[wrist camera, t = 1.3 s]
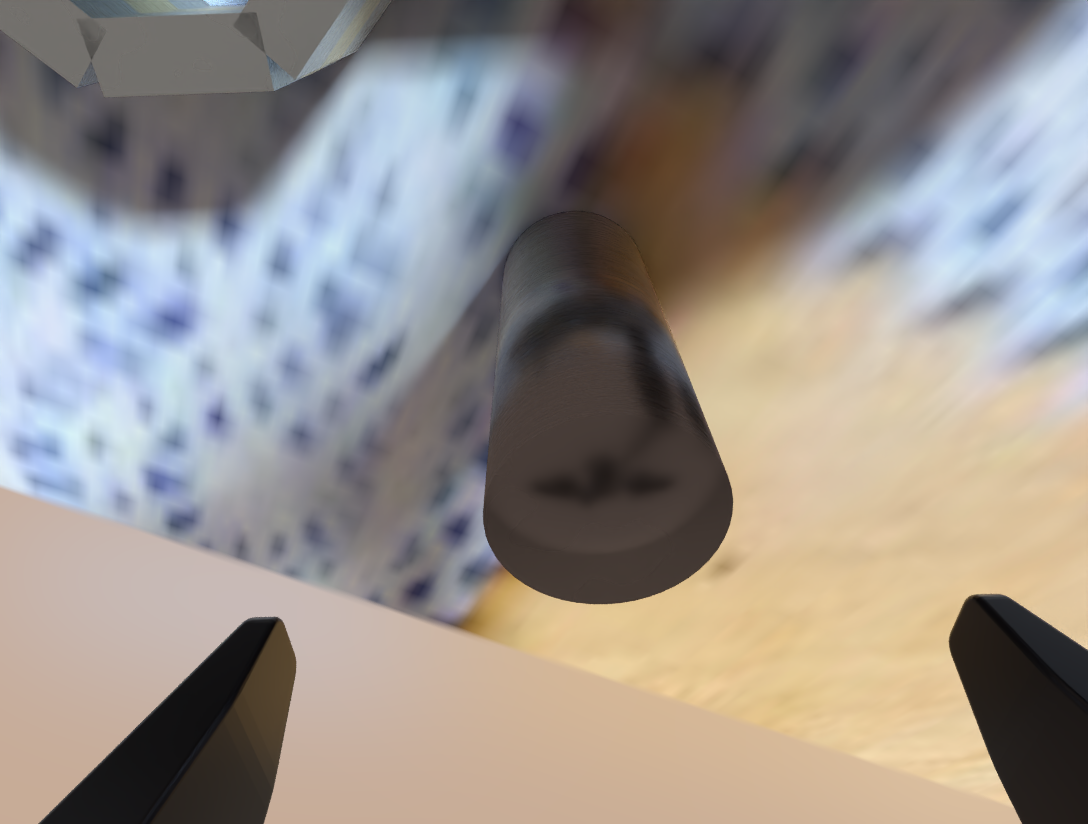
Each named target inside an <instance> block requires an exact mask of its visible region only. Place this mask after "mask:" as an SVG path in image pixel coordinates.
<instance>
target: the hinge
mask: <svg viewBox="0 0 1088 824" xmlns="http://www.w3.org/2000/svg"><path fill="white" fill-rule="evenodd" d="M391 1H392V0H248V2H247V4H246V5H222V6H210V5H208V4H207V3H206V2H205V1H204V0H0V30H1V31H2V32H4V33H5V34H6V35H8V36H9V37H10V38H12V39H13V40H14V41H16V42H17V43H18V44H20V45H21V46H22V47H24V48H25V49H26V50H27V51H29V52H30V53H31V54H33V55H34V56H35V57H37V58H38V59H39V60H41V61H42V62H43V63H45V64H46V65H47V66H49V67H50V68H51V69H53V70H54V71H55V72H57V73H58V74H59V75H61V76H62V77H63V78H65V79H66V80H67V81H69V82H70V83H71V84H72V85H74V86H75V87H76V88H79V87H83V86H87V85H90V84H94V83H98V82H99V84H100V87H101V90H102V93H103V96H104V98H107V97H133V96H160V95H186V94H213V93H239V92H266V91H276V90H278V89H280V88H282V87H284V86H286V85H289V84H291V83H293V82H295V81H297V80H299V79H301V78H304V77H306V76H308V75H310V74H312V73H314V72H316V71H318V70H321V69H323V68H325V67H327V66H329V65H331V64H333V63H336V62H338V61H340V59H341V58H344V57H346V56H348V55H350V54H352V53H354V52H356V51H357V50H358V48H359V47H360V46H361V44H362V43H363V41H364V40H365V38H366V37H367V36H368V34H369V33H370V31H371V30H372V29H373V27H374V26H375V24H376V23H377V21H378V20H379V19H380V17H381V16H382V14H383V13H384V11H385V10H386V9H387V7H388V6H389V4H390V3H391Z"/></svg>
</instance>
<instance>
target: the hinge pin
mask: <svg viewBox="0 0 1088 824" xmlns="http://www.w3.org/2000/svg"><path fill="white" fill-rule="evenodd" d="M732 510H733V496H732V488H731V485H730V482H729V478H728V475H727V473H726V470H725V468H724V465H723V463H722V460H721V458H720V455H719V452H718V450H717V447H716V445H715V442H714V440H713V437H712V435H711V432H710V430H709V427H708V425H707V422H706V420H705V417H704V415H703V412H702V409H701V407H700V404H699V402H698V399H697V397H696V394H695V392H694V389H693V387H692V384H691V382H690V379H689V377H688V374H687V371H686V369H685V366H684V364H683V361H682V359H681V356H680V354H679V351H678V349H677V346H676V344H675V341H674V339H673V336H672V333H671V331H670V328H669V326H668V323H667V321H666V318H665V316H664V313H663V311H662V308H661V306H660V303H659V301H658V298H657V295H656V293H655V290H654V288H653V285H652V283H651V280H650V278H649V275H648V273H647V270H646V268H645V265H644V263H643V260H642V258H641V255H640V253H639V250H638V248H637V246H636V244H635V243H634V241H633V240H632V238H631V237H630V236H629V235H628V234H627V232H626V231H625V230H624V229H622V228H621V227H620V226H619V225H618V224H616V223H614V222H613V221H611V220H610V219H607V218H605V217H603V216H601V215H597V214H594V213H589V212H583V211H569V212H562V213H557V214H553V215H551V216H548V217H545V218H543V219H541V220H540V221H538V222H536V223H535V224H533V225H532V226H530V227H529V228H528V229H527V230H526V231H525V232H523V233H522V234H521V236H520V237H519V238H518V239H517V240H516V242H515V243H514V245H513V247H512V248H511V250H510V252H509V254H508V257H507V259H506V263H505V266H504V273H503V284H502V296H501V307H500V319H499V331H498V343H497V354H496V366H495V378H494V390H493V402H492V413H491V425H490V437H489V449H488V460H487V472H486V484H485V496H484V508H483V524H484V529H485V534H486V537H487V540H488V543H489V545H490V547H491V549H492V551H493V553H494V554H495V556H496V558H497V559H498V560H499V562H500V563H501V564H502V565H503V567H504V568H505V569H506V570H508V571H509V572H510V573H511V574H512V575H513V576H514V577H515V578H517V579H518V580H520V581H521V582H522V583H524V584H525V585H527V586H529V587H531V588H533V589H534V590H536V591H539V592H541V593H543V594H546V595H548V596H551V597H555V598H558V599H561V600H566V601H571V602H576V603H586V604H614V603H623V602H629V601H635V600H639V599H642V598H646V597H650V596H652V595H655V594H658V593H661V592H663V591H665V590H667V589H669V588H672V587H674V586H676V585H677V584H679V583H681V582H682V581H684V580H686V579H687V578H689V577H690V576H691V575H693V574H694V573H695V572H697V571H698V570H699V569H700V568H701V567H702V566H703V565H704V564H705V563H706V562H708V561H709V560H710V558H711V557H712V556H713V555H714V553H715V552H716V551H717V550H718V548H719V546H720V545H721V543H722V541H723V540H724V538H725V535H726V533H727V531H728V528H729V525H730V521H731V517H732Z"/></svg>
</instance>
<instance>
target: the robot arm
mask: <svg viewBox="0 0 1088 824" xmlns="http://www.w3.org/2000/svg"><path fill="white" fill-rule="evenodd" d="M949 647H950V652H951V655H952V658H953V661H954V663H955V666H956V669H957V671H958V674H959V676H960V679H961V682H962V684H963V687H964V690H965V692H966V695H967V697H968V700H969V703H970V705H971V708H972V711H973V713H974V716H975V719H976V721H977V724H978V726H979V729H980V732H981V734H982V737H983V740H984V742H985V745H986V747H987V750H988V752H989V755H990V757H991V760H992V762H993V764H994V767H995V769H996V771H997V773H998V776H999V778H1000V780H1001V782H1002V784H1003V786H1004V788H1005V790H1006V792H1007V794H1008V796H1009V798H1010V800H1011V802H1012V804H1013V806H1014V808H1015V810H1016V812H1017V814H1018V816H1019V818H1020V820H1021V822H1022V824H1088V650H1087V649H1085V648H1084V647H1082V646H1081V645H1079V644H1078V643H1076V642H1075V641H1073V640H1072V639H1070V638H1069V637H1068V636H1066V635H1065V634H1063V633H1062V632H1060V631H1059V630H1057V629H1056V628H1054V627H1053V626H1051V625H1050V624H1048V623H1047V622H1045V621H1044V620H1042V619H1041V618H1039V617H1038V616H1036V615H1035V614H1033V613H1032V612H1030V611H1029V610H1027V609H1026V608H1024V607H1023V606H1021V605H1020V604H1018V603H1017V602H1015V601H1014V600H1012V599H1011V598H1009V597H1007V596H1005V595H1001V594H976V595H971V596H970V597H968V598H967V599H966V600H965V602H964V604H963V606H962V608H961V610H960V613H959V615H958V617H957V619H956V622H955V624H954V626H953V628H952V630H951V633H950V637H949ZM295 674H296V657H295V654H294V651H293V648H292V645H291V643H290V640H289V637H288V634H287V631H286V628H285V625H284V623H283V621H282V620H281V619H279V618H278V617H255V618H250V619H248V620H246V621H244V622H243V623H242V624H241V625H240V626H239V627H238V628H237V629H236V630H235V631H234V632H233V633H232V634H231V635H230V636H229V637H228V638H227V639H226V640H225V641H224V642H223V643H221V644H220V645H219V646H218V647H217V648H216V649H215V651H213V653H211V654H210V655H209V656H208V657H207V658H206V659H205V660H204V661H203V662H202V663H201V664H200V665H199V666H198V667H197V668H196V669H195V670H194V671H193V672H192V673H191V674H190V675H189V676H188V677H187V678H186V679H185V680H184V681H183V682H182V683H181V684H180V685H179V686H178V687H177V688H176V689H175V690H174V691H173V692H172V693H171V694H170V695H169V696H168V697H167V698H166V699H165V700H164V701H163V702H162V703H161V704H160V705H159V706H158V707H156V708H155V709H154V710H153V711H152V712H151V714H149V715H148V717H146V718H145V719H144V720H143V721H142V722H141V723H140V724H139V725H138V726H137V727H136V728H135V729H134V730H133V731H132V732H131V733H130V734H129V735H128V736H127V737H126V738H125V739H124V740H123V741H122V742H121V743H120V744H119V745H118V746H117V747H116V748H115V749H114V750H113V751H112V752H111V753H110V754H109V755H108V756H107V757H106V758H105V759H104V760H103V761H102V762H101V763H100V764H99V765H98V766H97V767H96V768H94V770H93V771H92V772H91V773H89V774H88V775H87V777H85V778H84V779H83V780H82V781H81V782H80V783H79V784H78V785H77V786H76V787H75V788H74V789H73V790H72V791H71V792H70V793H69V794H68V795H67V796H66V797H65V798H64V799H63V800H62V801H61V802H60V803H59V804H58V805H57V806H56V807H55V808H54V809H53V810H52V811H51V812H50V813H49V814H48V815H47V816H46V817H45V818H44V819H43V820H42V821H41V822H40V823H39V824H264V820H265V817H266V814H267V810H268V807H269V803H270V800H271V796H272V792H273V788H274V783H275V779H276V774H277V769H278V764H279V759H280V753H281V748H282V743H283V737H284V732H285V727H286V722H287V717H288V711H289V706H290V701H291V695H292V690H293V685H294V680H295Z"/></svg>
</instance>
